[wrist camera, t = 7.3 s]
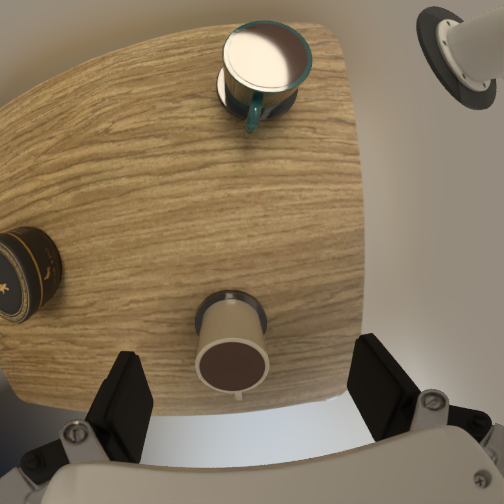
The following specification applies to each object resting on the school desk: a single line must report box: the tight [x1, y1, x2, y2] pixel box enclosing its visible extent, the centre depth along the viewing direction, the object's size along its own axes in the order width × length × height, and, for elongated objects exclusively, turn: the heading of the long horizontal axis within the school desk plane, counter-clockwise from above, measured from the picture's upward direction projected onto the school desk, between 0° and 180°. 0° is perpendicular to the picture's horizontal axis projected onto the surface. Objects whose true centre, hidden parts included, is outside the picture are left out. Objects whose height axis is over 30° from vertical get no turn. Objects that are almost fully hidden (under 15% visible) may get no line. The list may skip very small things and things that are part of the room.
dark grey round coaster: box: [195, 290, 267, 336], centre depth 31 cm, size 8×8×1 cm
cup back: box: [195, 299, 270, 400], centre depth 27 cm, size 9×7×8 cm
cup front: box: [222, 21, 312, 137], centre depth 20 cm, size 9×7×8 cm
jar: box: [0, 227, 61, 323], centre depth 23 cm, size 10×10×8 cm
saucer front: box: [217, 67, 298, 122], centre depth 24 cm, size 8×8×1 cm
